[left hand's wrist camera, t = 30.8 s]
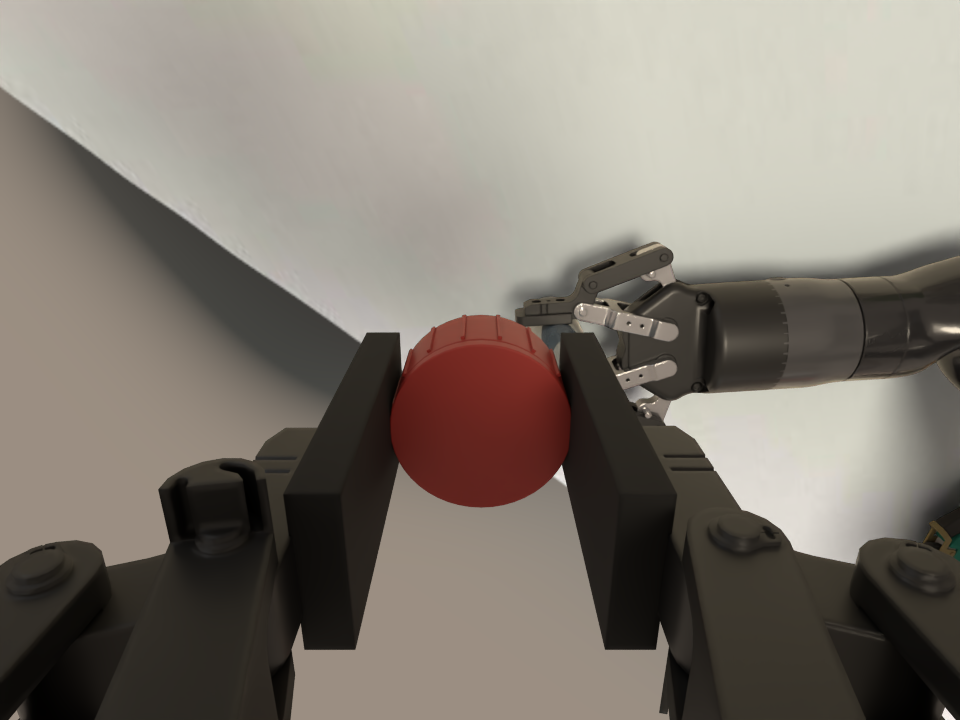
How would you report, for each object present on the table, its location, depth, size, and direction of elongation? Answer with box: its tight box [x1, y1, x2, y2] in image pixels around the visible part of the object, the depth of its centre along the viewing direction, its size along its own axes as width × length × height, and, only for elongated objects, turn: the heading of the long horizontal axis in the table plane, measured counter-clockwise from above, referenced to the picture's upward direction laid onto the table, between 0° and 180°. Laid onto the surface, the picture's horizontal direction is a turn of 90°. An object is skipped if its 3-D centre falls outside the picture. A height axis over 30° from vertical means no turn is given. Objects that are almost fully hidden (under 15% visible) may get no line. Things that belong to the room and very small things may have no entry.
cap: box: [390, 315, 571, 507], centre depth 14 cm, size 4×4×2 cm
